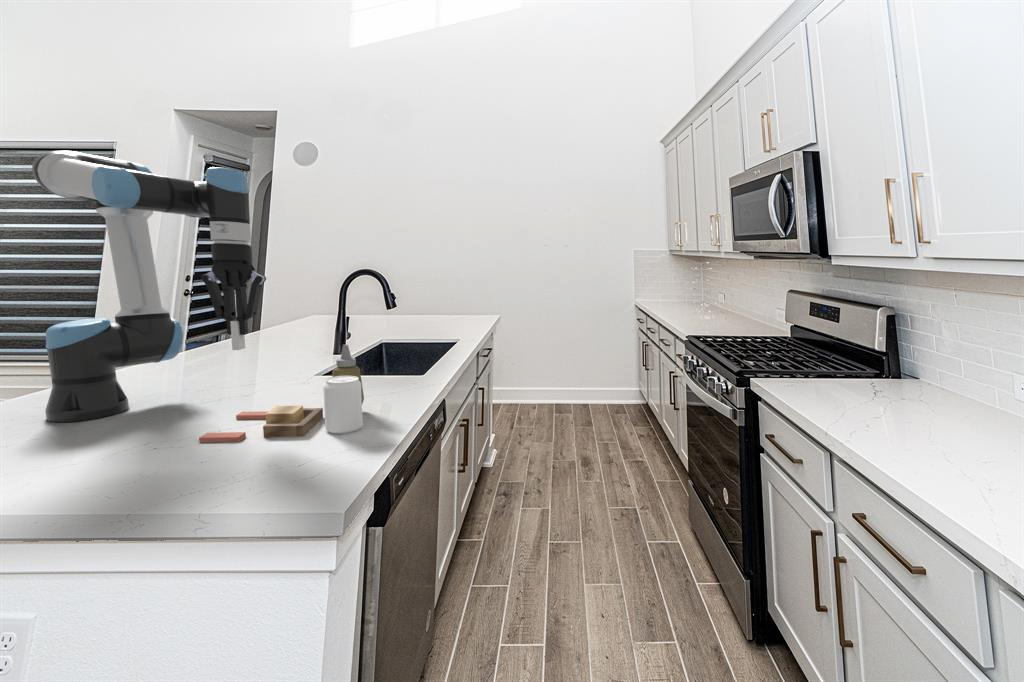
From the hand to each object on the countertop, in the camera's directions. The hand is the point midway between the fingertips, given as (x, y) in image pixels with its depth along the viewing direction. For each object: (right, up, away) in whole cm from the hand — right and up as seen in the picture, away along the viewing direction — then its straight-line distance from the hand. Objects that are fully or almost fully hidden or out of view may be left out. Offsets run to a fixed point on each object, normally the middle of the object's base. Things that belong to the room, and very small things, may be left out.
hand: (238, 348), depth 101 cm
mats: (-1, -18, +3) cm, 19 cm away
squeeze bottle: (+20, -17, +14) cm, 30 cm away
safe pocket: (+11, -18, +4) cm, 22 cm away
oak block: (+9, -19, +3) cm, 21 cm away
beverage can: (+23, -19, +3) cm, 30 cm away
